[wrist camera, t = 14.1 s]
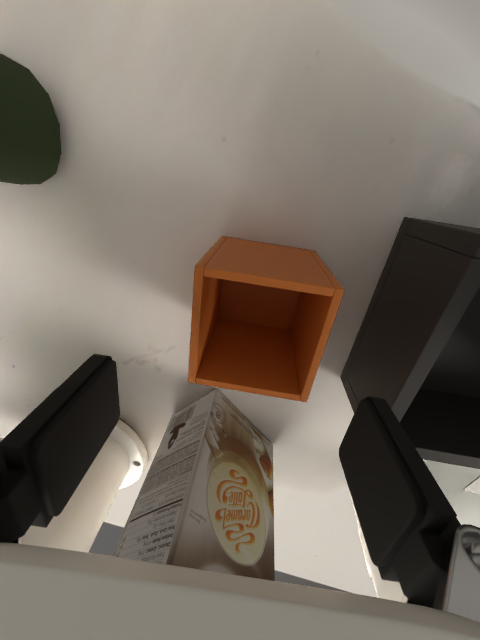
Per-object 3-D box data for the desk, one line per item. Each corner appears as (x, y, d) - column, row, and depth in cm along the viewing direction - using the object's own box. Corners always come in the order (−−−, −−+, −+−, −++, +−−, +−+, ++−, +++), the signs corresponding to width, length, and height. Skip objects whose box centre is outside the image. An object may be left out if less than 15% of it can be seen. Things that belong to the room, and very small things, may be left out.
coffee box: (276, 444, 27) (286, 742, 12) (228, 465, 29) (189, 738, 15) (216, 385, 24) (141, 681, 10) (168, 414, 26) (49, 689, 12)
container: (213, 318, 21) (187, 382, 14) (221, 235, 18) (194, 265, 11) (293, 332, 21) (306, 402, 14) (315, 250, 18) (345, 290, 11)
